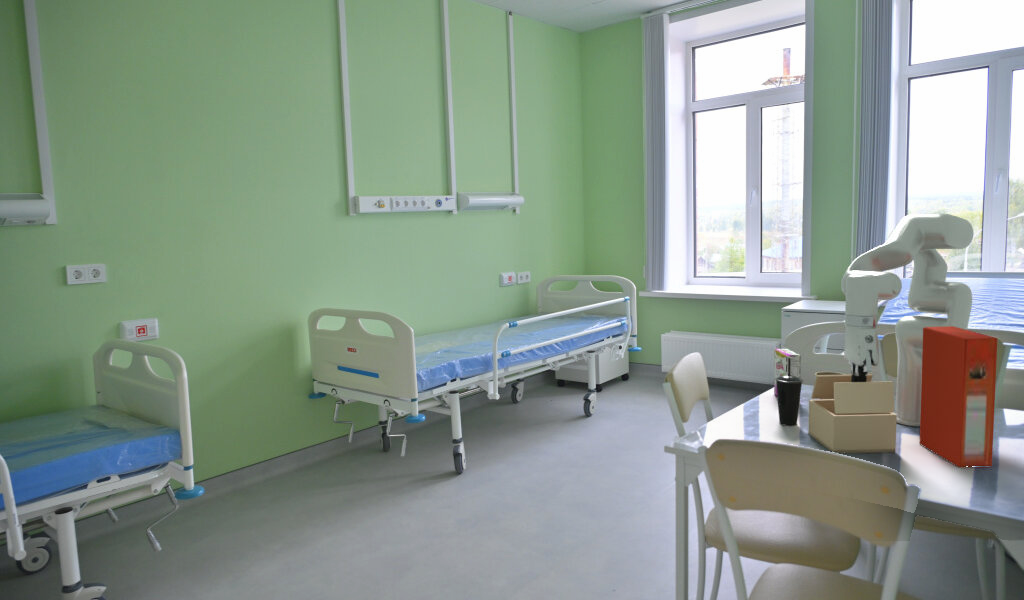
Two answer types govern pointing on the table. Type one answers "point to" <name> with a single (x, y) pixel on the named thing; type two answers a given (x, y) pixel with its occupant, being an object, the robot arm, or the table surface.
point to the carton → (851, 429)
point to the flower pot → (828, 374)
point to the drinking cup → (788, 397)
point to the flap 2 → (864, 397)
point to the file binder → (958, 395)
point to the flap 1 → (830, 384)
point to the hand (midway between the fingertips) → (858, 389)
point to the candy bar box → (785, 364)
